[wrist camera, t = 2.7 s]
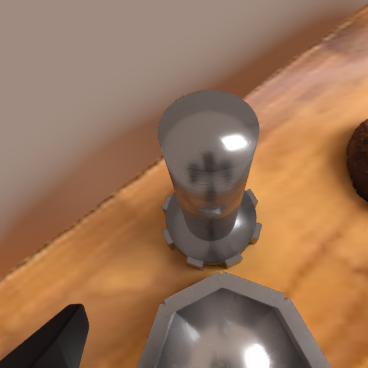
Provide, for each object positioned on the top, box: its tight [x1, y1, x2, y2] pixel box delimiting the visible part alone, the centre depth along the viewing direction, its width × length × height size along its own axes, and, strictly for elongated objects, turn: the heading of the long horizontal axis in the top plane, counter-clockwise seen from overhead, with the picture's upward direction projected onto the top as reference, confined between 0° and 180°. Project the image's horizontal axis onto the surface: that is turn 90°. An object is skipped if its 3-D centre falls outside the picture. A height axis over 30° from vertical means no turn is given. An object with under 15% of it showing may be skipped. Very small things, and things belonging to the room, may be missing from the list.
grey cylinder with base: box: [158, 90, 262, 271], centre depth 16 cm, size 8×8×13 cm
